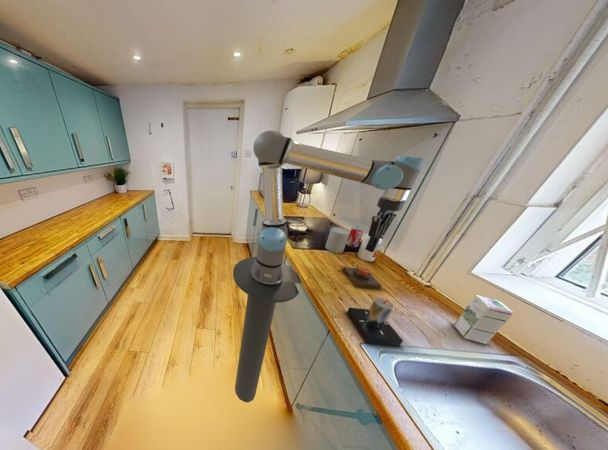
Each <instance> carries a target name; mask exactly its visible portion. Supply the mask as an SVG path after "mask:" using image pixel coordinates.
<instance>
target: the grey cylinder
mask: <svg viewBox="0 0 608 450" xmlns="http://www.w3.org/2000/svg"><path fill="white" fill-rule="evenodd" d="M349 234H350V230H348V229H347V228H343V227H340V226H332V227H331V228H330V231H329V234H328V237H327V240H326V243H325V245H324V248H325V249H326V250H328V251H329V252H332V253H336V254H342V253H343V252H344V251H345V247H346V245H347V244H346V242H347V240H348V237H349Z"/></svg>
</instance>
